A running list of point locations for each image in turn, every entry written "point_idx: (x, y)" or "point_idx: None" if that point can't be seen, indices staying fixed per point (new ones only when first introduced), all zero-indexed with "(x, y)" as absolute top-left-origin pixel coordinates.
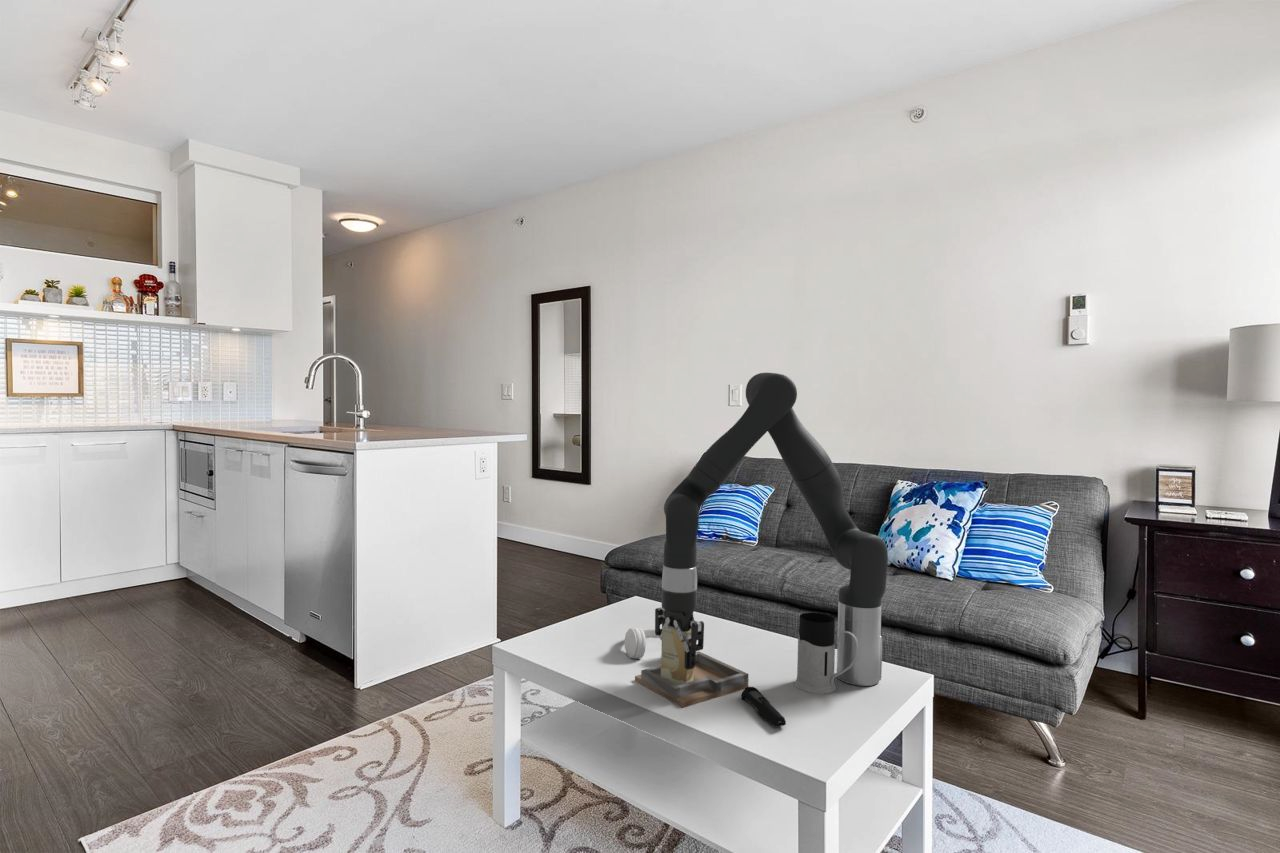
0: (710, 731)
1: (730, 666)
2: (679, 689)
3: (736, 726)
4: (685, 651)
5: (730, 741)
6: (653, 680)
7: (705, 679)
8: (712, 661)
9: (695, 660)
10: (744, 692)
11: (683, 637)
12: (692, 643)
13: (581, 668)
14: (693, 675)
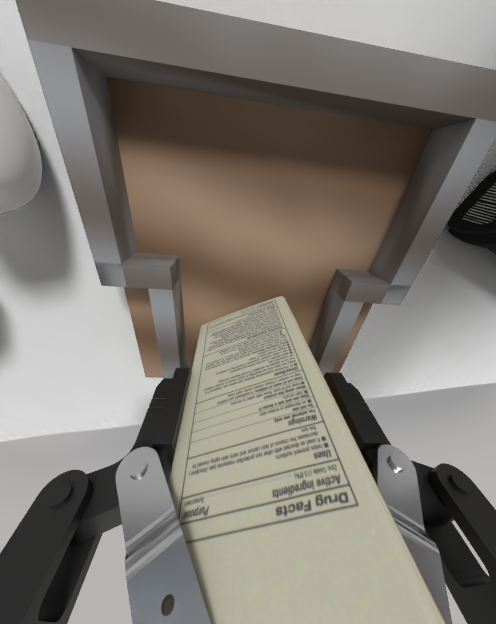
0: (420, 387)
1: (387, 63)
2: None
3: (464, 349)
4: None
5: (463, 385)
6: None
7: (351, 313)
8: (235, 80)
9: (367, 406)
10: (488, 242)
11: None
12: (441, 550)
13: (25, 409)
14: (290, 310)
